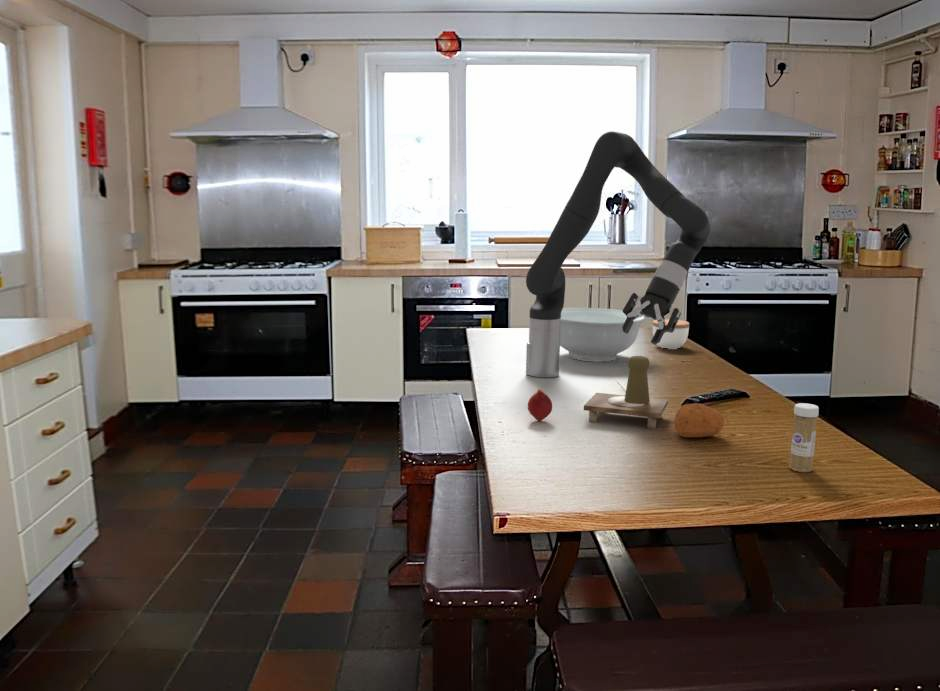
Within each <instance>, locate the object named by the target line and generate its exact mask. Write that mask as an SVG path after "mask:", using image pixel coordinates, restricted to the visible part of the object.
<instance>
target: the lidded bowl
mask: <svg viewBox="0 0 940 691" xmlns="http://www.w3.org/2000/svg"><path fill="white" fill-rule="evenodd" d="M670 317H671V315H670V316H669V318H665V322H666V324H665V325H666V326H667V324H668V322H669V319H670ZM657 329H659V326H658V321H657V320H654V319H653V321H652V335H653V336H654V334H655V332H656V330H657ZM689 330H690V322H689V321H686V320H682V319H679V320H678V322H677V324H676V327H675V329H674V331H673V332H672V333H670V332H665V333H664V334H663V336H662V338H661V340H660V342H659V343H657V344H656V345H657V346H659V348H660V347H661V348H660V349H663V348H668V349H667V350H678V349H677V348H680V349H681V347H682V346H683V345H684V344H685V343H686V341H687V339H688V336H689ZM653 336H652V337H653Z"/></svg>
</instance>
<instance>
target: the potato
mask: <svg viewBox="0 0 940 691" xmlns="http://www.w3.org/2000/svg"><path fill="white" fill-rule="evenodd" d="M673 420H674V429H675V430H676V432H677V433H678V434H679V435H680V436H681V437H683V438H686V439H687V438H689V439H692V438H693V439H694V438H696V439H697V438H705V437H711V436H715V435H718V434H719V433H720V432H721V431H722V430H723V428H724V426H725V425H724V424H725V419H724V416H723V414H722V413H721V412H720V411H719V410H718V409H716V408H714V407H710V406H707V405H705V404H702V403H697V402H695V403H686V404H683V405H681V407H680V408H679V409H678V411H677V412H676V414H675V417H674V419H673Z"/></svg>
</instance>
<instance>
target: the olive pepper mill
mask: <svg viewBox="0 0 940 691" xmlns="http://www.w3.org/2000/svg"><path fill="white" fill-rule="evenodd" d="M627 368H628V370H629V372H628V376H627V384H626V387H625V388H626V389H625V394H624V395H625V400H624V401H626V402H628V403H633V404H645V403H649V402H650V400H649V398H650V392H649V390H650V389H649V382H648V381H649V380H648V369H649V368H650V359H649V358H648V357H647V356H644V355H634V356H633V355H632V356H630V357H629V358H628V359H627Z"/></svg>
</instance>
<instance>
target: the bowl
mask: <svg viewBox="0 0 940 691" xmlns="http://www.w3.org/2000/svg"><path fill="white" fill-rule="evenodd" d="M626 319H627V316H626V315H625V314H624V313H623V309H621V310H620V309H614V308H598V307H563V309H562V312H561V326H560V348H563V349H565V351H567V352H568V356H569V358H571V359H574V360H576V359H577V361H581V360H582V361H581V362H589V361H593V363H604V362H603V361H607V362H612V361H611V360H613V361H615V360H616V359H617V355H618V354H619V353H622V352H624V351H626V350H628V349H629V348H631V346H632V345H633V344H634V343H635V341H636V339H637V337H638V334H639V331H640V326H641V324H642V323H643V322H644V321H645V319H646V318H645V315H644V316H642V317H638V318H637V319H635V320H633V321H634V323H633V325H632V326H631V328H630V330H629V332H628V334H626V333H624V332H623V329H622V327H623V325H624V323H625V321H626ZM614 359H615V360H614Z"/></svg>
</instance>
